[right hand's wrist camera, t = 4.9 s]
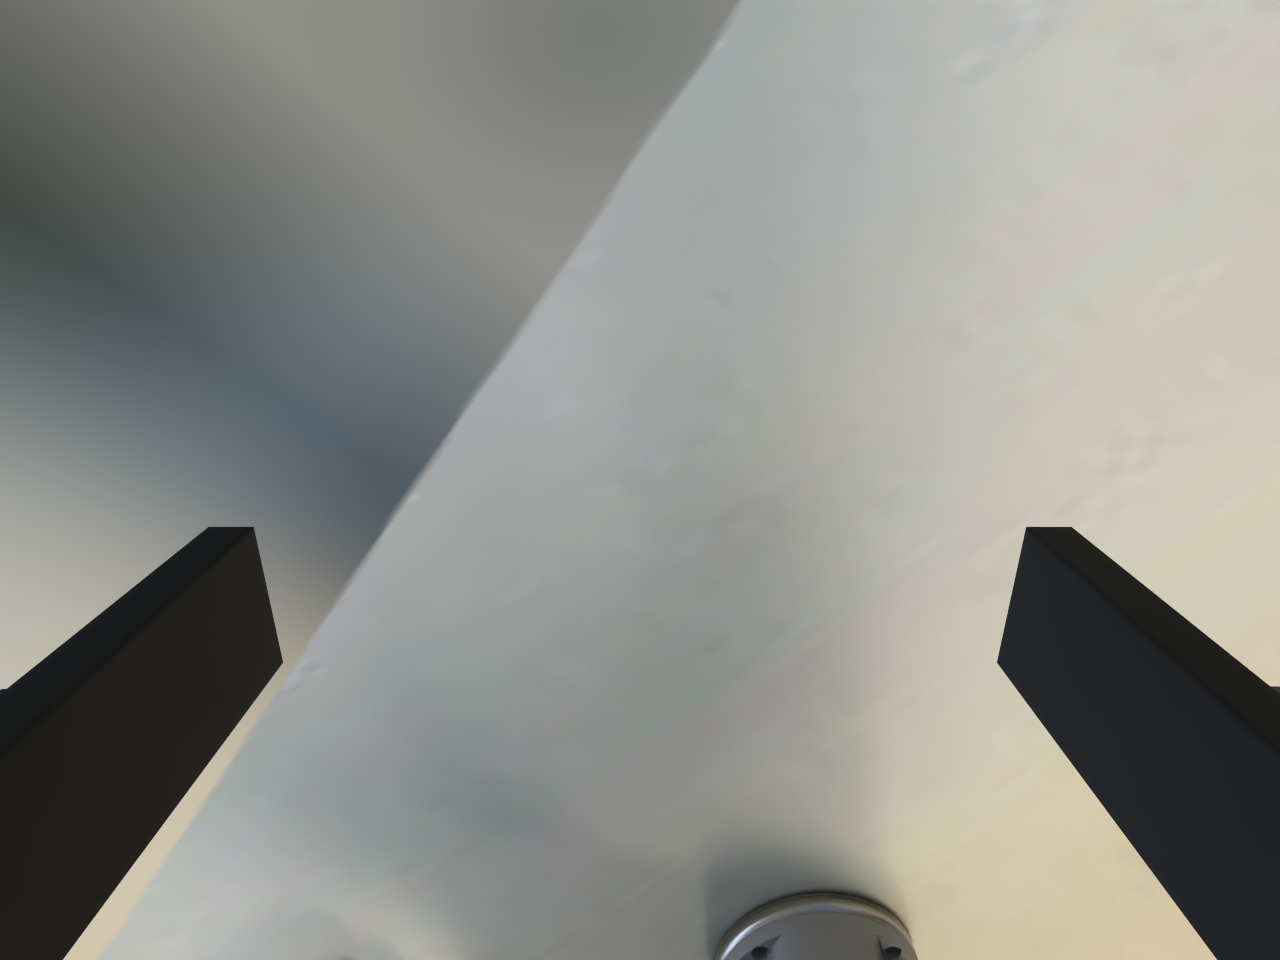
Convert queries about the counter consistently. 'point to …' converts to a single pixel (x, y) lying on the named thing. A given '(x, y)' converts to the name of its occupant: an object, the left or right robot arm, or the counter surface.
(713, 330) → the counter surface
